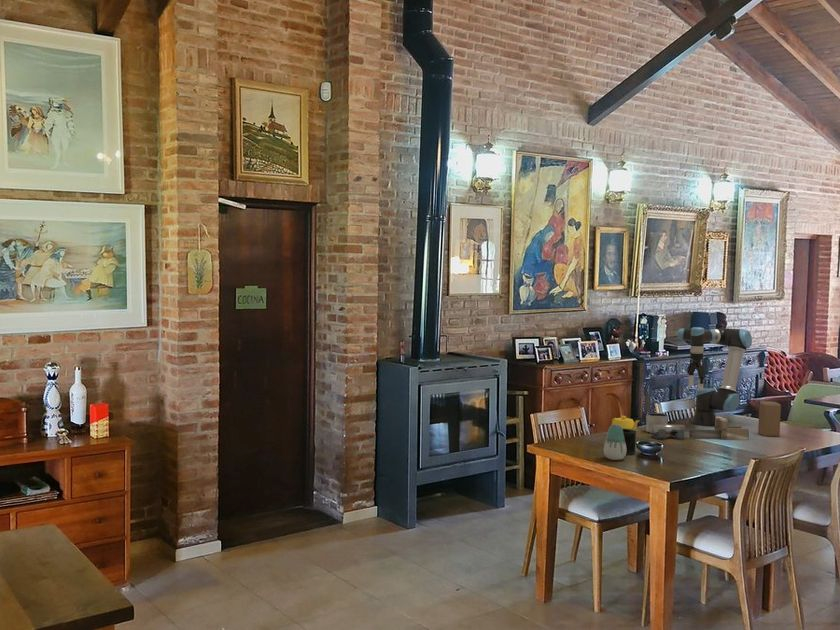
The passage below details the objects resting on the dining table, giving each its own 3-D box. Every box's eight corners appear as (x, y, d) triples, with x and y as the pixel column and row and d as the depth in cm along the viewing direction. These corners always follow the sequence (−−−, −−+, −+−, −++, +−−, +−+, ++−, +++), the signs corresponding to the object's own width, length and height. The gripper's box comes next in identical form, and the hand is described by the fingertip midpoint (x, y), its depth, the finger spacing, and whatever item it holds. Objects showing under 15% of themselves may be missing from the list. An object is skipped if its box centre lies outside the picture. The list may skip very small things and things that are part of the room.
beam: (687, 436, 482) (688, 416, 482) (743, 436, 486) (744, 416, 485) (694, 439, 473) (694, 419, 472) (751, 439, 477) (751, 419, 476)
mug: (627, 455, 425) (628, 433, 425) (605, 450, 437) (606, 428, 436) (640, 453, 432) (641, 431, 432) (617, 448, 443) (618, 426, 443)
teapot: (618, 433, 486) (619, 412, 485) (646, 439, 470) (647, 418, 469) (603, 436, 477) (604, 414, 477) (631, 442, 462) (632, 420, 461)
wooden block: (774, 433, 497) (775, 401, 496) (780, 437, 487) (781, 404, 486) (757, 433, 498) (759, 400, 497) (762, 436, 488) (764, 403, 487)
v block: (651, 436, 481) (652, 426, 481) (676, 436, 482) (676, 427, 482) (659, 439, 470) (659, 430, 470) (683, 439, 472) (684, 430, 471)
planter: (654, 429, 502) (654, 411, 501) (671, 433, 492) (672, 415, 491) (641, 431, 494) (642, 413, 494) (658, 435, 484) (659, 416, 484)
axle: (656, 432, 472) (655, 424, 473) (652, 433, 477) (652, 425, 478) (685, 432, 474) (685, 424, 475) (682, 433, 479) (681, 425, 480)
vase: (616, 455, 425) (618, 421, 424) (630, 460, 414) (632, 425, 414) (598, 457, 420) (599, 423, 420) (612, 462, 410) (613, 427, 409)
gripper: (682, 350, 503) (681, 384, 504) (699, 355, 478) (698, 390, 480) (693, 350, 504) (692, 384, 505) (712, 355, 479) (711, 390, 480)
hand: (695, 387), depth 492 cm, fingers open, 13 cm apart
